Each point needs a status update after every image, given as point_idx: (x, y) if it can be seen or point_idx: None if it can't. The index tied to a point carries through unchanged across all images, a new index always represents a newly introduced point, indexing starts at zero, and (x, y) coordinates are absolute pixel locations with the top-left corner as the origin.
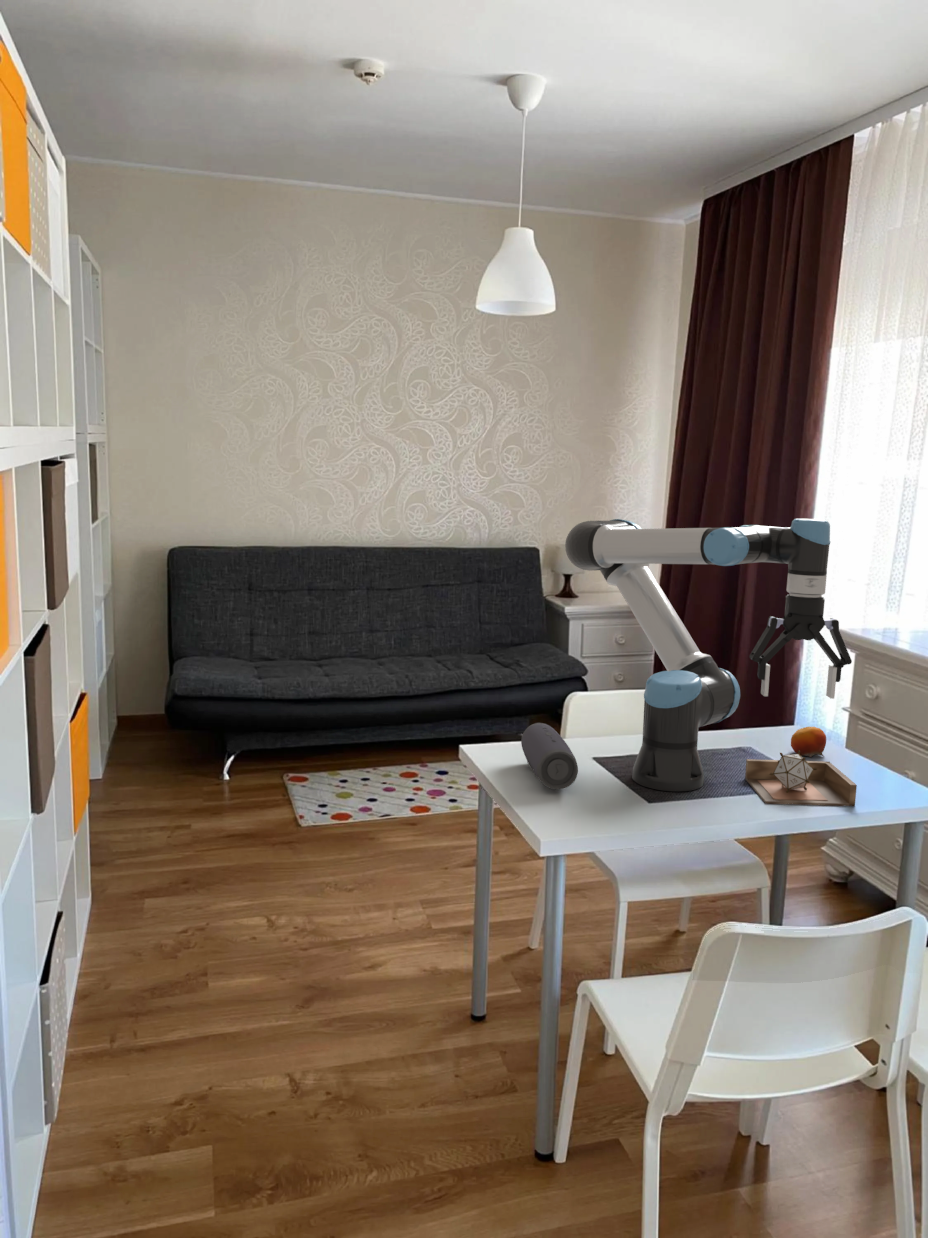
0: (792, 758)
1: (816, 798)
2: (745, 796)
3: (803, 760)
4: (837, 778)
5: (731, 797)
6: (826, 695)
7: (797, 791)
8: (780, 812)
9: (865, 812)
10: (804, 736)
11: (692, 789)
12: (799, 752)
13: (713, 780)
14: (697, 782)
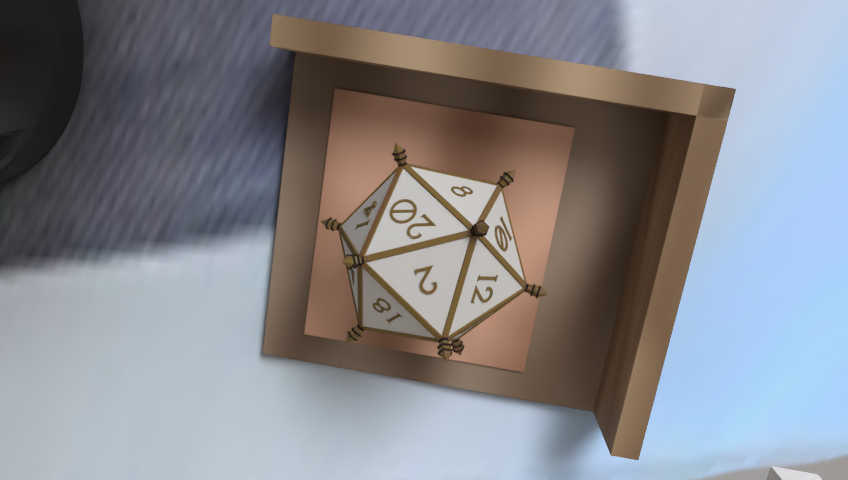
0: (399, 305)
1: (485, 351)
2: (216, 259)
3: (446, 341)
4: (643, 291)
5: (154, 266)
6: (770, 475)
7: None
8: (285, 438)
9: (617, 470)
10: None
11: (6, 179)
12: (481, 234)
13: (144, 35)
14: (12, 167)
